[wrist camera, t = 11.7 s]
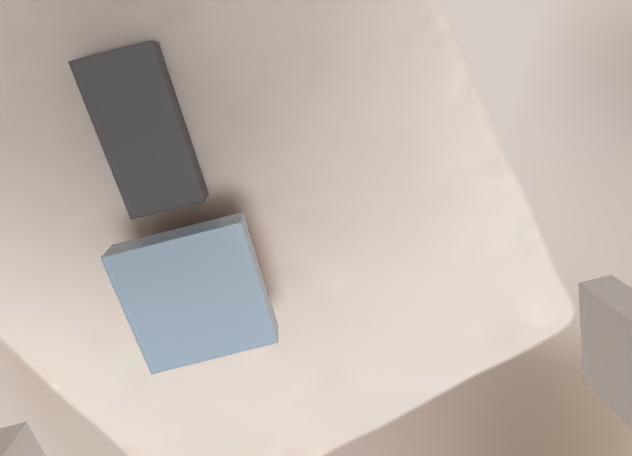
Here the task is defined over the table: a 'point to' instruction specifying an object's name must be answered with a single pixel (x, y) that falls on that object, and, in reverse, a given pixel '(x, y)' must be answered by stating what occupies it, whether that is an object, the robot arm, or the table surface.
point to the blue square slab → (193, 293)
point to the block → (141, 128)
